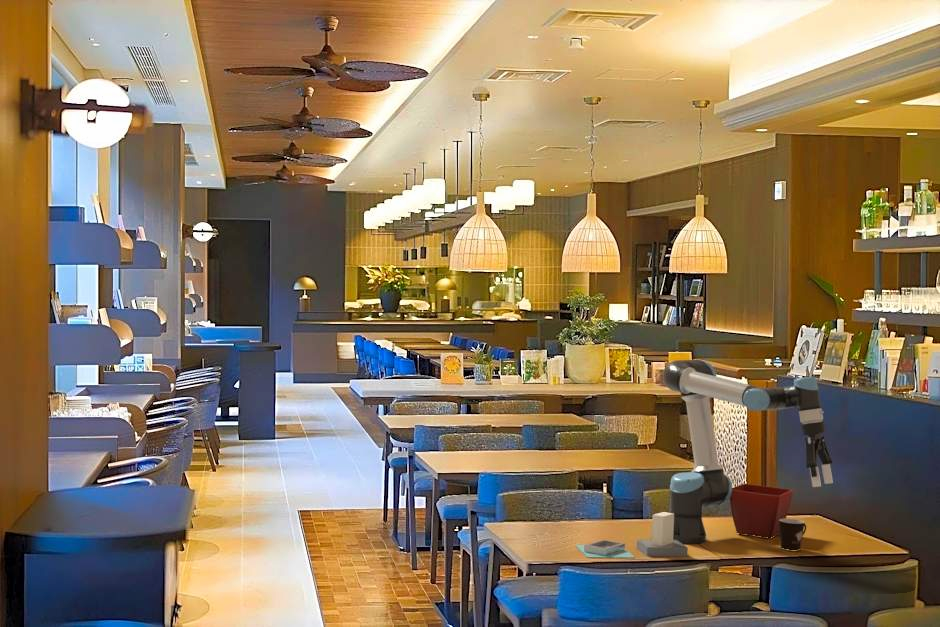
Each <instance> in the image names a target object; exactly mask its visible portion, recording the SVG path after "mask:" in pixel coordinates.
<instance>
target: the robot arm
mask: <svg viewBox="0 0 940 627" xmlns="http://www.w3.org/2000/svg"><path fill="white" fill-rule="evenodd" d="M662 380H663V383H664V386H666V387H667V388H668V389H669V390H670V391H673V392H678V393H679V394H680V398H681V399H682V400H683V401H685V404H686V412H687V419H688V425H689V426H688V427H689V433H690V434H689V435H690V439H691V447H692V455H693V462H694V467H693V469H692V470H691V471H689V472H678V473H675V474H674V475H673V476H672V477H671V479H670V485H669V509H668V510H669V512H668V513H674V529H673V540H677V541H679V542H680V543H682V544H703V543H705V542H706V541H707V533H706V529H705V525H704V521H703V509H705V508H710V507H711V508H714V507H719V506H722V505H724V504H726V503H727V502H728V501H730V497H731V494H732V488H733V485H732V484H733V483H732V480H731V479H730V478H729V477H728V475H727V474H725V471H724V466H723V467H722V466H721V465H720V464H719V459H718V450H717V445H716V444H717V443H716V438H715V430H714V424H713V423H714V422H713V417H712V408H711V402H710V399H711V398H713V399H717V400H719V401H724V402H727V403H732V404H735V405H739V406H742V407H746V409H747V410H749V411H755V412H761V411H781V410H786V409H792V408H798V414H799V421H800V423H801V430H802V435H804V436H808V437H805V447H806V448H805V452H806V453H805V455H806V456H805V458H806V460H805V461H806V465H805V467H806V468H807V469H808V468H809V474H810V480H811V485H812V486H811V487H812V488H819V487H822V482H821V476H820V471H819V466H817V465H818V457H819V459H820V461H821V463H822V464H821V471H822V476H823V481H824V482H823V483H824V484H825V485H828V484H833V483H834V480H833V474H832V468H831V464H833V460H832V457H831V454H830V451H829V449H828V445H827V442H826V438H825V435H821V434H824V433H826V426H825V422H824V421H823V420H824V415H823V414H824V412H825V411H824V410H823V409H822V405H821V399H820V398H821V397H820V392H819V390H820V389H819V387H818V381H817V378H816V377H814V376H806V377H798V378H795V379H794V380H793V385H788V386H781V387H759V386H756V385H751V384H747V383H744V382H743V383H742V382H739V381H735V380H731V379H727V378H723V377H720V376H717V372H716V370H715V368H714V367H713V365H712V364H711V363H709V362H708V361H706V360H702V359H679V360H678V359H677V360H673V361H670V362H669V363H668V364H667V365H666V366H665V368H664V369H663V373H662Z"/></svg>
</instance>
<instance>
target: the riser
mask: <svg viewBox="0 0 940 627" xmlns="http://www.w3.org/2000/svg"><path fill="white" fill-rule="evenodd" d="M688 548H689V547H688V546H686V545H685V544H684V543H680V542H679V541H677V540H673V543H670V544H667V545H664V546H658V545H652V544H651V539H636V549H637V550H638V551H640V552H641V554H643V555H644V556H646V557H688V553H689V552H688Z"/></svg>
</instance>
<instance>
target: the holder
mask: <svg viewBox="0 0 940 627" xmlns="http://www.w3.org/2000/svg"><path fill="white" fill-rule="evenodd" d="M583 545H584V552H588V553H593V554H598V555H603V556H608V555H611V554H614V553H617V552H621V551H624V550H626V549H625V548H626V543H624V542H619V541H613V540H608V539H601V540H597V541H593V542H591V543H590V542H589V543H586V544H583Z"/></svg>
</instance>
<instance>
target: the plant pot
mask: <svg viewBox="0 0 940 627" xmlns="http://www.w3.org/2000/svg"><path fill="white" fill-rule="evenodd" d="M793 492H794V490H793V489H790V488H789V489H788V488H782V487H776V486H775V487H774V486H767V485H760V484H751V483H741V484H739V485H736V486H734V487H733V486H732V494H731V497H730V498H729V506H730V510H731V516H732V520H733V523H734V524H733V525H734V527H735V531H736V534H737V533H739V534H738V535H741V534H747V535H755V536H761V537H768V538H771V537H773V536H775V535H777V534H779V533H780V525H779V520H780V519H787V516H788V513H789V510H790V506H791V502H792V497H793ZM747 535H746V536H747ZM779 535H780V534H779ZM777 536H778V535H777ZM775 537H776V536H775ZM773 538H774V537H773ZM771 539H772V538H771Z"/></svg>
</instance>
